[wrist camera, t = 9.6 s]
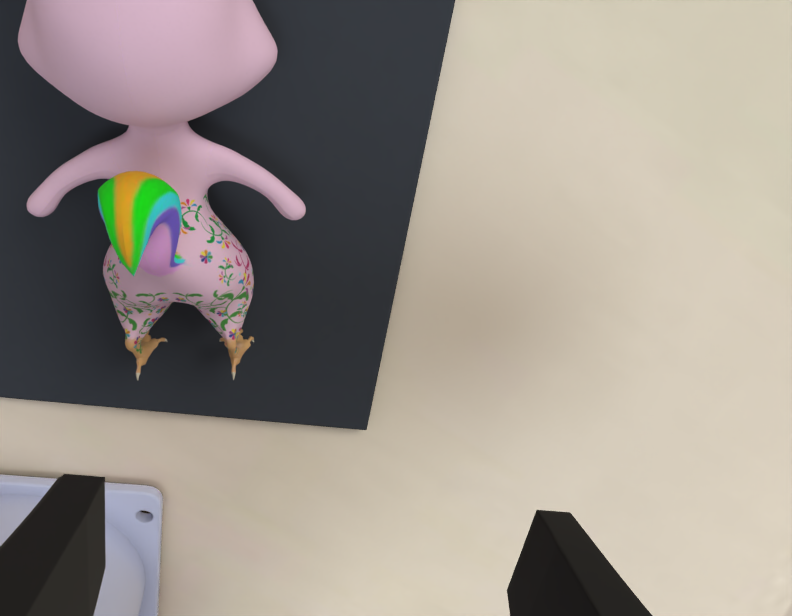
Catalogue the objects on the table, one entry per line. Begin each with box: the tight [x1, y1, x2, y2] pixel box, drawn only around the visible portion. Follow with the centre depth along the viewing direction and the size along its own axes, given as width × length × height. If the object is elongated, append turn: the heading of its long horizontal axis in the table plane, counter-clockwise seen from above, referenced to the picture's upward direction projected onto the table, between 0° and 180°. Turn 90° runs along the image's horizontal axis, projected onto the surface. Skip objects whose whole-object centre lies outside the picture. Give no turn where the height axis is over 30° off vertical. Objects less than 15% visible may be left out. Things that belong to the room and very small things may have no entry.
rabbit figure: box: [18, 0, 306, 380], centre depth 15 cm, size 6×6×15 cm
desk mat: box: [0, 0, 455, 430], centre depth 18 cm, size 20×12×1 cm, turn 170°
